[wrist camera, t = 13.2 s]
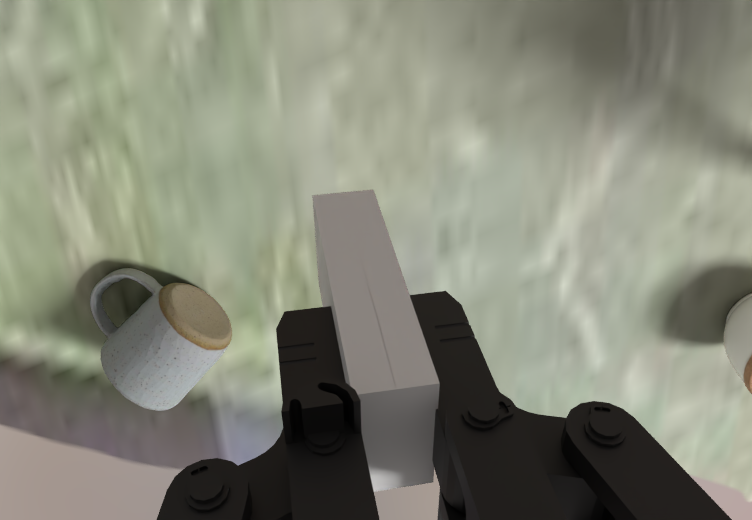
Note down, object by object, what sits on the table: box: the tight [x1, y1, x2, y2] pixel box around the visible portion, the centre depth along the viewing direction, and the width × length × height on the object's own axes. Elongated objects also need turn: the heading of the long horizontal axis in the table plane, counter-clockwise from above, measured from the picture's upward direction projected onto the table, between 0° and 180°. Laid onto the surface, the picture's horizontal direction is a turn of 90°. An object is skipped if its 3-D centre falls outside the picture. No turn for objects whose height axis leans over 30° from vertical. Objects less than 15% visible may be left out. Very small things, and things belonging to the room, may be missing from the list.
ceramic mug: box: [90, 268, 232, 411], centre depth 55 cm, size 11×8×8 cm
